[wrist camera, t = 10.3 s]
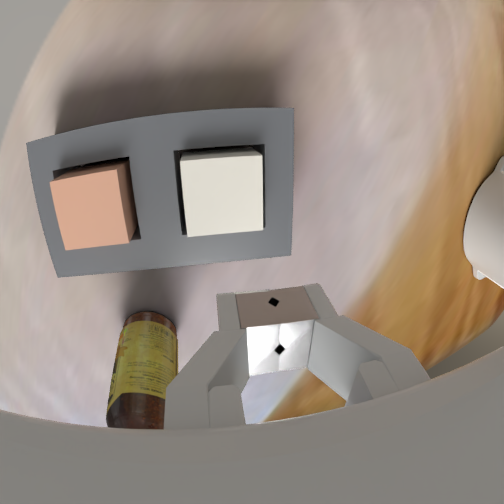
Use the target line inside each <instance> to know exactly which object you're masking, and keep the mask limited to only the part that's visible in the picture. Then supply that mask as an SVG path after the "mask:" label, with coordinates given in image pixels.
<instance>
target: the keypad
mask: <svg viewBox="0 0 504 504" xmlns="http://www.w3.org/2000/svg"><path fill="white" fill-rule="evenodd" d="M26 145H27V152H28V159H29V166H30V172H31V178H32V183H33V188H34V193H35V198H36V203H37V207H38V211H39V215H40V220H41V223H42V227H43V231H44V235H45V238H46V242H47V245H48V249H49V252H50V255H51V259H52V262H53V265H54V268H55V271H56V274H57V277H58V278H59V277H70V276H82V275H93V274H104V273H115V272H126V271H137V270H147V269H158V268H169V267H179V266H190V265H200V264H210V263H220V262H231V261H241V260H251V259H261V258H271V257H281V256H290V255H291V245H292V216H293V171H294V108H232V109H213V110H199V111H188V112H178V113H169V114H160V115H153V116H146V117H139V118H132V119H126V120H120V121H115V122H109V123H104V124H99V125H94V126H90V127H85V128H81V129H76V130H72V131H68V132H64V133H60V134H56V135H52V136H49V137H45V138H42V139H38V140H35V141H31V142H28V143H26ZM236 145H252V148H253V149H254V150H256V151H257V152H258V153H260V154H261V155H262V168H263V230H260V231H248V232H237V233H226V234H215V235H205V236H194V237H188V236H187V228H186V219H185V210H184V201H183V191H182V180H181V169H180V156H179V150H184V149H195V148H206V147H220V146H236ZM128 156H129V160H130V169H131V177H132V184H133V191H134V198H135V205H136V211H137V217H138V225H137V227H136V229H135V232H134V234H133V236H132V238H131V240H130V242H129V243H126V244H117V245H108V246H99V247H91V248H82V249H74V250H65V247H64V243H63V239H62V236H61V232H60V228H59V224H58V220H57V216H56V211H55V207H54V202H53V197H52V192H51V187H50V181H52V180H54V179H55V178H57V177H59V176H61V175H62V174H64V173H66V172H67V171H69V170H71V169H75V168H78V165H82V164H87V163H92V162H98V161H103V160H109V159H115V158H122V157H128Z"/></svg>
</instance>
